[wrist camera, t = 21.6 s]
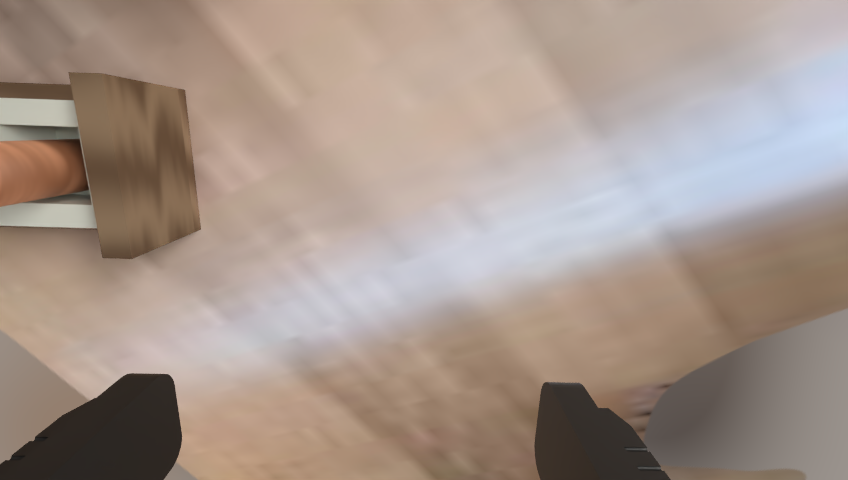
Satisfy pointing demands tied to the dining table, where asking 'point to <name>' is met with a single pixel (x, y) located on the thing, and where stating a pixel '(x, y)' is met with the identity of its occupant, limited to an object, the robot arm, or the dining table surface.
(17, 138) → the hole block
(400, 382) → the dining table surface
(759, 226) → the dining table surface
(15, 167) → the dowel
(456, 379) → the dining table surface
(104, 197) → the walnut angle bracket
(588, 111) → the dining table surface
